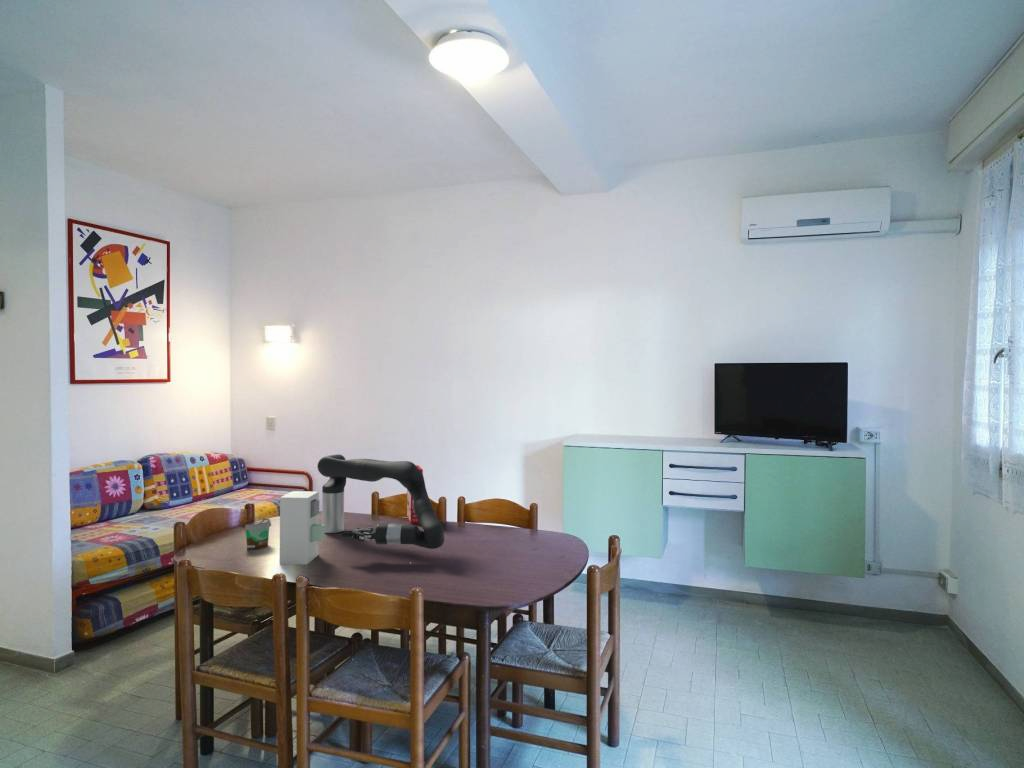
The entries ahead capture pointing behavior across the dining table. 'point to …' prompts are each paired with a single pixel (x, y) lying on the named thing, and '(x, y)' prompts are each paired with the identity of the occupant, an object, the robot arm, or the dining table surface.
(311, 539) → the sage key
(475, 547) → the dining table surface
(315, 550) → the key tower
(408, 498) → the food packaging
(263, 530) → the food container
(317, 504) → the grey square block
